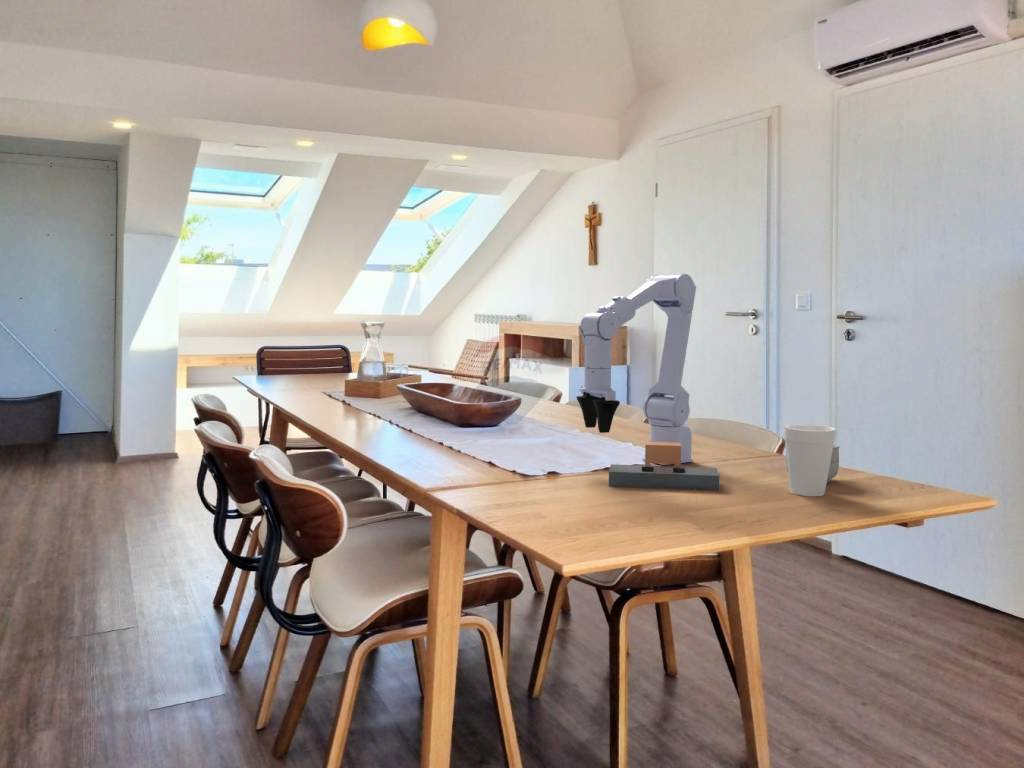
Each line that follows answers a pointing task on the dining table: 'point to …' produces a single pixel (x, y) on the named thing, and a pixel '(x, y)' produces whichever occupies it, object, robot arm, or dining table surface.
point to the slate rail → (664, 477)
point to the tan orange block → (663, 453)
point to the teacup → (833, 463)
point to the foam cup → (809, 457)
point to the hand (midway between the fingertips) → (597, 429)
